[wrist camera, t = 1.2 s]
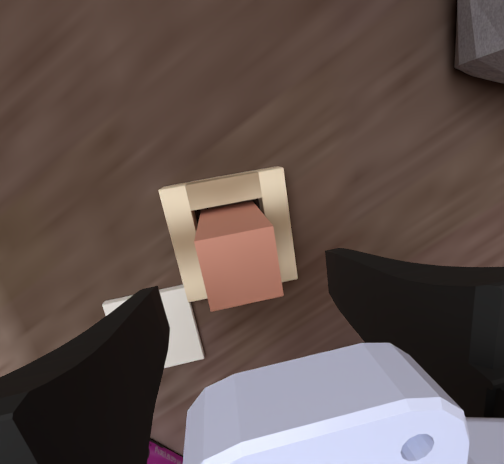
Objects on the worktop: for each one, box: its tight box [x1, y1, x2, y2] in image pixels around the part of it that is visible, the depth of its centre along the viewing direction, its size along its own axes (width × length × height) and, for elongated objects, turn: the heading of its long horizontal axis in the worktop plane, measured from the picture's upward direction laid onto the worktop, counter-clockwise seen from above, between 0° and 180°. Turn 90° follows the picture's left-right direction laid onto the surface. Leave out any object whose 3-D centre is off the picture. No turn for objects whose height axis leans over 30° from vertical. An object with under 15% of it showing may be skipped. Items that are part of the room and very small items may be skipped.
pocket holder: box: [158, 166, 298, 302], centre depth 21 cm, size 8×8×2 cm
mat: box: [102, 285, 204, 368], centre depth 23 cm, size 7×6×1 cm
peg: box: [194, 201, 284, 312], centre depth 18 cm, size 4×4×8 cm
